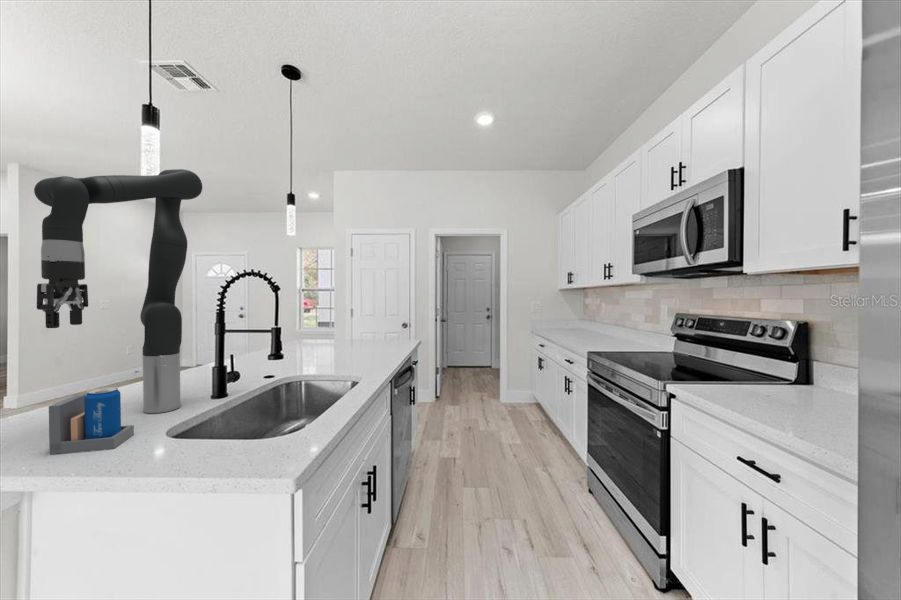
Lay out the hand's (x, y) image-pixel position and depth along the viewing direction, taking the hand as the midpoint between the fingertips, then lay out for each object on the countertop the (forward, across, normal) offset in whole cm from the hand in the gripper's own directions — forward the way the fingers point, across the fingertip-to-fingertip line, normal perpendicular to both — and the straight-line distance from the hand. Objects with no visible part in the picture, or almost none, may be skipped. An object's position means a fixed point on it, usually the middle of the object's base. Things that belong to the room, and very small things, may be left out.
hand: (64, 326), depth 94 cm
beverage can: (+27, +5, +10) cm, 29 cm away
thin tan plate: (+27, +5, +6) cm, 28 cm away
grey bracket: (+28, +5, +8) cm, 30 cm away
